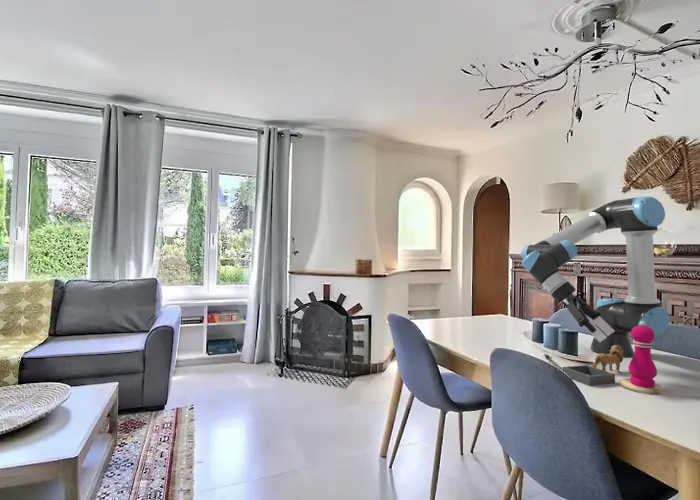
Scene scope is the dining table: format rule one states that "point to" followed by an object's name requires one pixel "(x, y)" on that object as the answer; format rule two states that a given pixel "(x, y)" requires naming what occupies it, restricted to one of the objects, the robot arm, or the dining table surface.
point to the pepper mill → (642, 357)
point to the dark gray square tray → (595, 374)
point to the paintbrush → (552, 361)
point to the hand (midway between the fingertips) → (607, 336)
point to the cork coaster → (627, 385)
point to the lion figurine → (610, 358)
